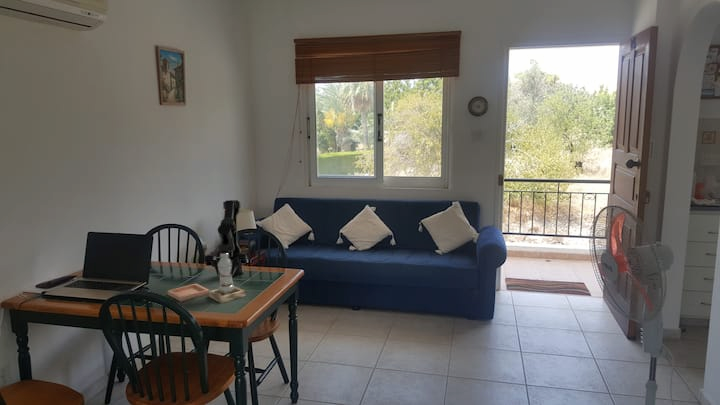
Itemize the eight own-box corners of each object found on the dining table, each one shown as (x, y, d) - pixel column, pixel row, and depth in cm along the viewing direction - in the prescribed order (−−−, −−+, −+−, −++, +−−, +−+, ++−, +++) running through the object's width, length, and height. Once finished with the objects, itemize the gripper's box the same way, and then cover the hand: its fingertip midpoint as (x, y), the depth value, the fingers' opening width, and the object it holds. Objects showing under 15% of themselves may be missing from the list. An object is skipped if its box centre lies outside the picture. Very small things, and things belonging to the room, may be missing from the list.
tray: (196, 287, 237) (196, 283, 236) (209, 294, 227) (209, 289, 226) (167, 294, 227) (167, 290, 227) (180, 301, 217) (180, 297, 217)
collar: (232, 290, 231) (232, 285, 231) (245, 296, 223) (245, 290, 222) (208, 296, 223) (208, 291, 223) (221, 303, 215) (221, 297, 214)
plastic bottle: (237, 294, 223) (234, 252, 220) (223, 298, 218) (221, 255, 215) (230, 291, 228) (227, 250, 224) (216, 295, 223) (214, 252, 220)
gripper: (203, 238, 221) (200, 268, 212) (245, 235, 224) (244, 266, 215) (207, 250, 230) (205, 280, 221) (247, 248, 233) (246, 277, 224)
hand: (225, 275), depth 220 cm, fingers closed on plastic bottle, 6 cm apart
